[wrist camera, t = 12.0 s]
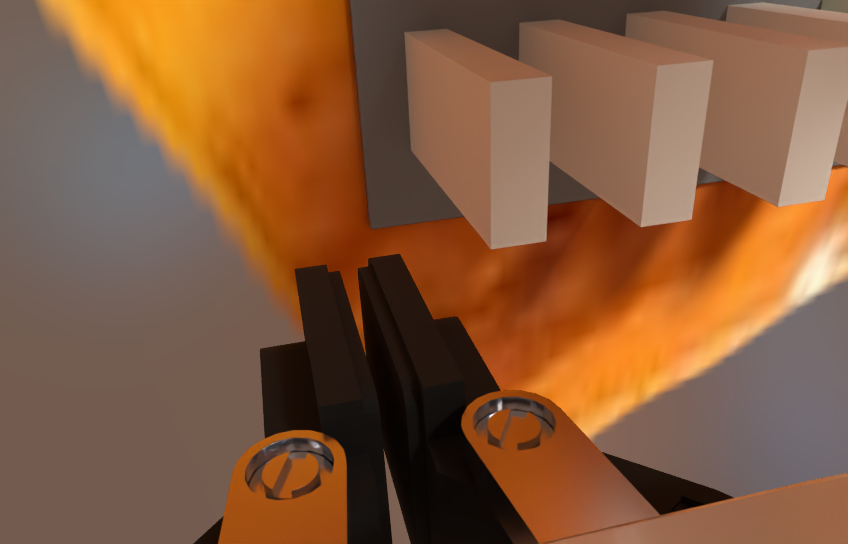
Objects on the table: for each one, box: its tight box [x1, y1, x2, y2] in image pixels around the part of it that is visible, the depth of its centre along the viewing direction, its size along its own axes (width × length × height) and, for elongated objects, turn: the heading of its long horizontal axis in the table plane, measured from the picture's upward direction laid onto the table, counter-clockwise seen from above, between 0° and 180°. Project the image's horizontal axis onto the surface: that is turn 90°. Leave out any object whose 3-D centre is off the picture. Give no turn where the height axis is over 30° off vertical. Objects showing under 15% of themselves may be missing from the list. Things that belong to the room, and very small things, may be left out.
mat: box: [349, 0, 842, 229], centre depth 32 cm, size 28×12×1 cm, turn 93°
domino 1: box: [404, 29, 552, 249], centre depth 25 cm, size 2×5×11 cm, turn 3°
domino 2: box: [519, 19, 714, 227], centre depth 26 cm, size 2×5×11 cm, turn 3°
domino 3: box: [625, 11, 848, 207], centre depth 27 cm, size 2×5×11 cm, turn 3°
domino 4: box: [726, 2, 848, 167], centre depth 28 cm, size 2×5×11 cm, turn 3°
